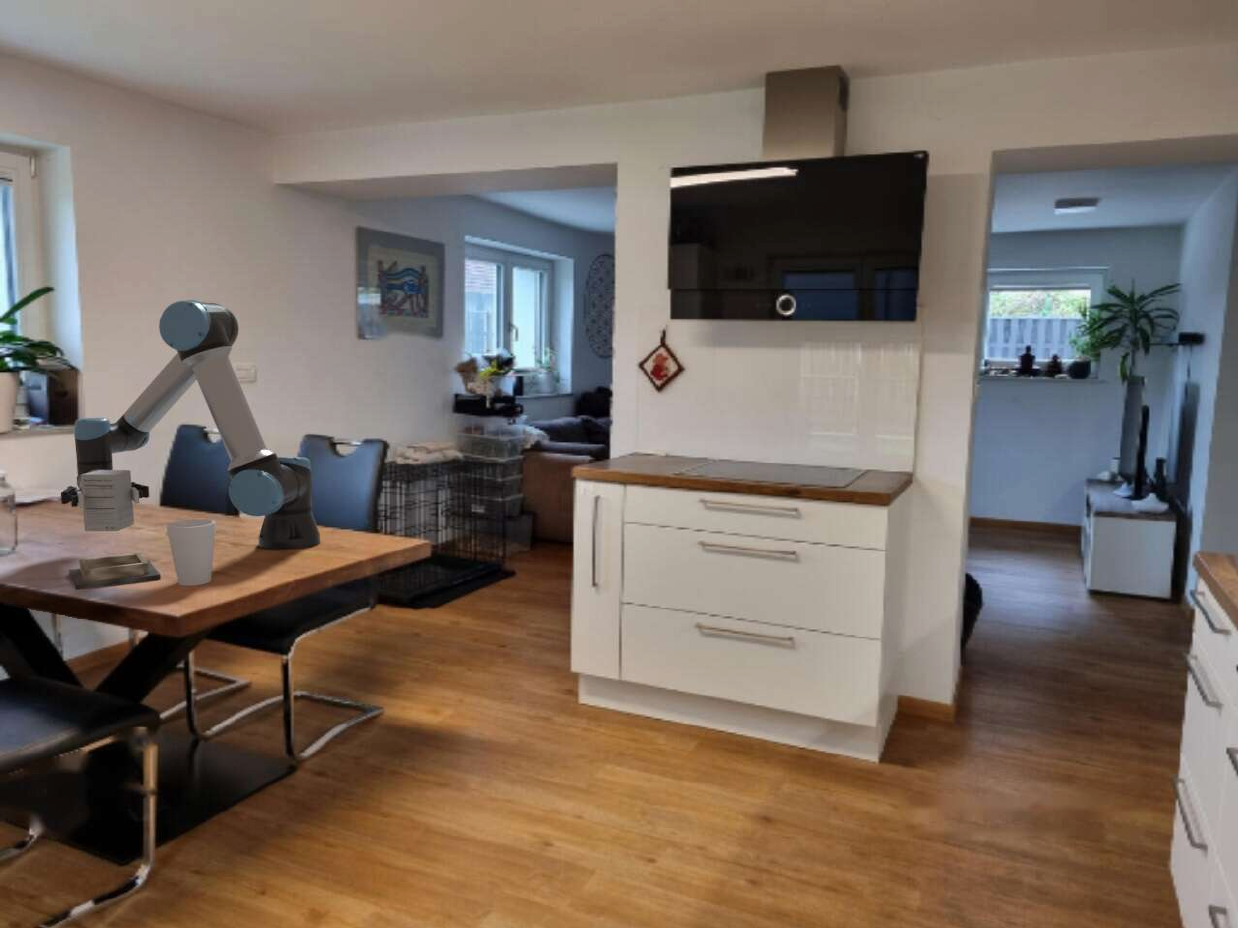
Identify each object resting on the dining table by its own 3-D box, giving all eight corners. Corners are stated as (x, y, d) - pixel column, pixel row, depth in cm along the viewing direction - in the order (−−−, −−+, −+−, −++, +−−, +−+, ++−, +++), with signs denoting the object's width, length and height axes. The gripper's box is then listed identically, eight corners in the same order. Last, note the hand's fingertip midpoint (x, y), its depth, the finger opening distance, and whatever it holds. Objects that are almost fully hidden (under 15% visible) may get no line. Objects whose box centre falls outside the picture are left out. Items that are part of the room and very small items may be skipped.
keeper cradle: (149, 564, 204) (148, 550, 203) (160, 578, 191) (159, 563, 191) (69, 574, 194) (68, 559, 194) (75, 590, 182) (74, 573, 181)
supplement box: (101, 524, 196) (97, 469, 194) (135, 524, 196) (131, 469, 194) (83, 531, 188) (79, 474, 187) (118, 531, 189) (114, 474, 187)
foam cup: (225, 576, 194) (222, 519, 192) (207, 587, 185) (204, 527, 183) (182, 576, 193) (179, 519, 192) (162, 587, 184) (158, 527, 183)
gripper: (153, 497, 213) (168, 511, 195) (44, 506, 200) (49, 521, 182) (151, 467, 212) (166, 478, 194) (42, 474, 199) (47, 486, 181)
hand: (109, 499), depth 188 cm, fingers closed on supplement box, 10 cm apart
